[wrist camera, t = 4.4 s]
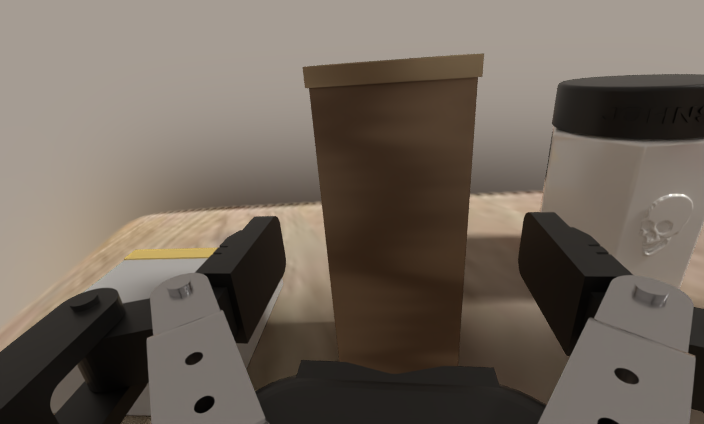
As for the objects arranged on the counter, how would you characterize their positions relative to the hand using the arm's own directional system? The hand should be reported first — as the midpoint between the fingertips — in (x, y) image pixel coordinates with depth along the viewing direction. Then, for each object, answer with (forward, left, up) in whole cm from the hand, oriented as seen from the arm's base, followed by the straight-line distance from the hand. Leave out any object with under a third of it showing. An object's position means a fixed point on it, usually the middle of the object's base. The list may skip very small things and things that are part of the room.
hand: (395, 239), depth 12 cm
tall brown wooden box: (-2, -2, -9) cm, 9 cm away
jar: (-18, +2, -9) cm, 20 cm away
